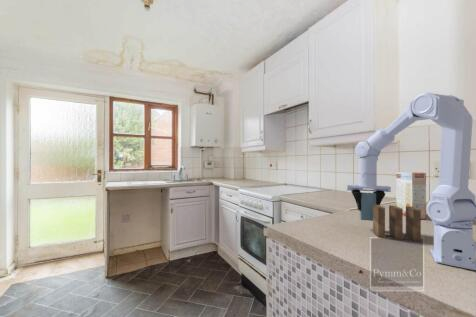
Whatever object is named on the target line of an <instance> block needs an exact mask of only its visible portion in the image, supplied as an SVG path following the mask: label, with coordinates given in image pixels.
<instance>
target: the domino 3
mask: <svg viewBox="0 0 476 317" xmlns="http://www.w3.org/2000/svg"><path fill="white" fill-rule="evenodd" d="M403 216H404V215H403V209H402V208H400V207H397V206H396V205H391V204H390V205H388V234H389V236H391V237H392V238H393V239H395V240H402V239H403V238H404V237H403V230H404V229H403V228H404V227H403V223H404V222H403V220H404V219H403ZM403 240H404V239H403Z"/></svg>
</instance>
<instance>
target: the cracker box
mask: <svg viewBox="0 0 476 317" xmlns="http://www.w3.org/2000/svg"><path fill="white" fill-rule="evenodd" d="M395 185H396V205H395V206H397V207H400V208H402V209H403V216H405V217H406V206H409V207H415V208H418V209H420V210H421V220H426V219H427V210H426V207H427V172H417V171H396V184H395Z"/></svg>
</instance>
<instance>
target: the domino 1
mask: <svg viewBox="0 0 476 317" xmlns="http://www.w3.org/2000/svg"><path fill="white" fill-rule="evenodd" d="M361 193H362V197H361V211H359V220H361V221H370V222H373V205H376V193H373V192H364V191H361Z"/></svg>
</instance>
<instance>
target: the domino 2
mask: <svg viewBox="0 0 476 317" xmlns="http://www.w3.org/2000/svg"><path fill="white" fill-rule="evenodd" d="M372 233H373V235H375V236H376V237H377V238H381V239H386V207H384V206H383V205H381V204H380V205H373V221H372Z"/></svg>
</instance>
